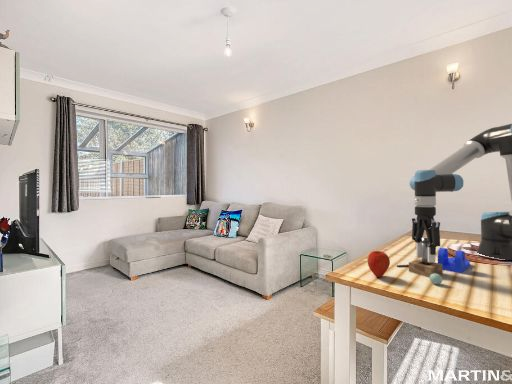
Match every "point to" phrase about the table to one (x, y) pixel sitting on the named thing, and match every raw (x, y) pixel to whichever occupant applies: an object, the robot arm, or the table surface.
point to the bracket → (453, 261)
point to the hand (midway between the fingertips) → (425, 259)
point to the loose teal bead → (435, 278)
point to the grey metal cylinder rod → (424, 250)
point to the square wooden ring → (425, 268)
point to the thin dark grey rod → (402, 265)
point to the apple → (378, 263)
